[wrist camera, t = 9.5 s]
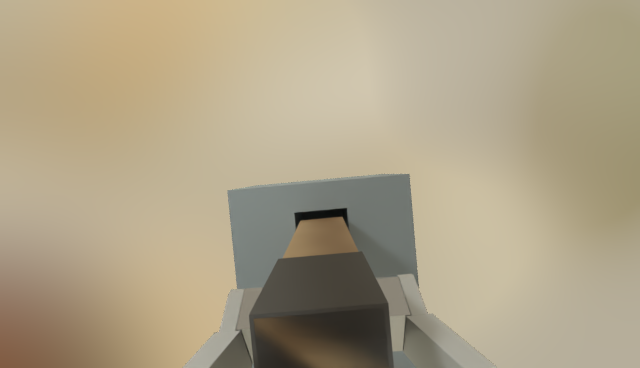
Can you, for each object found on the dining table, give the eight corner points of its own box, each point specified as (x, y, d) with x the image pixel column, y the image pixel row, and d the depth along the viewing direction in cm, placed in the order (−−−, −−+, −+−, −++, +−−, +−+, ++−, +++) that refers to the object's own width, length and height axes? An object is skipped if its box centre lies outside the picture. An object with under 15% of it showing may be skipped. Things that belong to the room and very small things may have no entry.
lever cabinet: (267, 621, 24) (224, 191, 23) (284, 483, 34) (255, 185, 33) (447, 607, 24) (411, 174, 23) (408, 473, 34) (383, 174, 33)
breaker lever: (259, 429, 8) (248, 315, 8) (302, 256, 24) (299, 219, 24) (398, 418, 8) (388, 302, 7) (347, 252, 24) (343, 215, 23)
